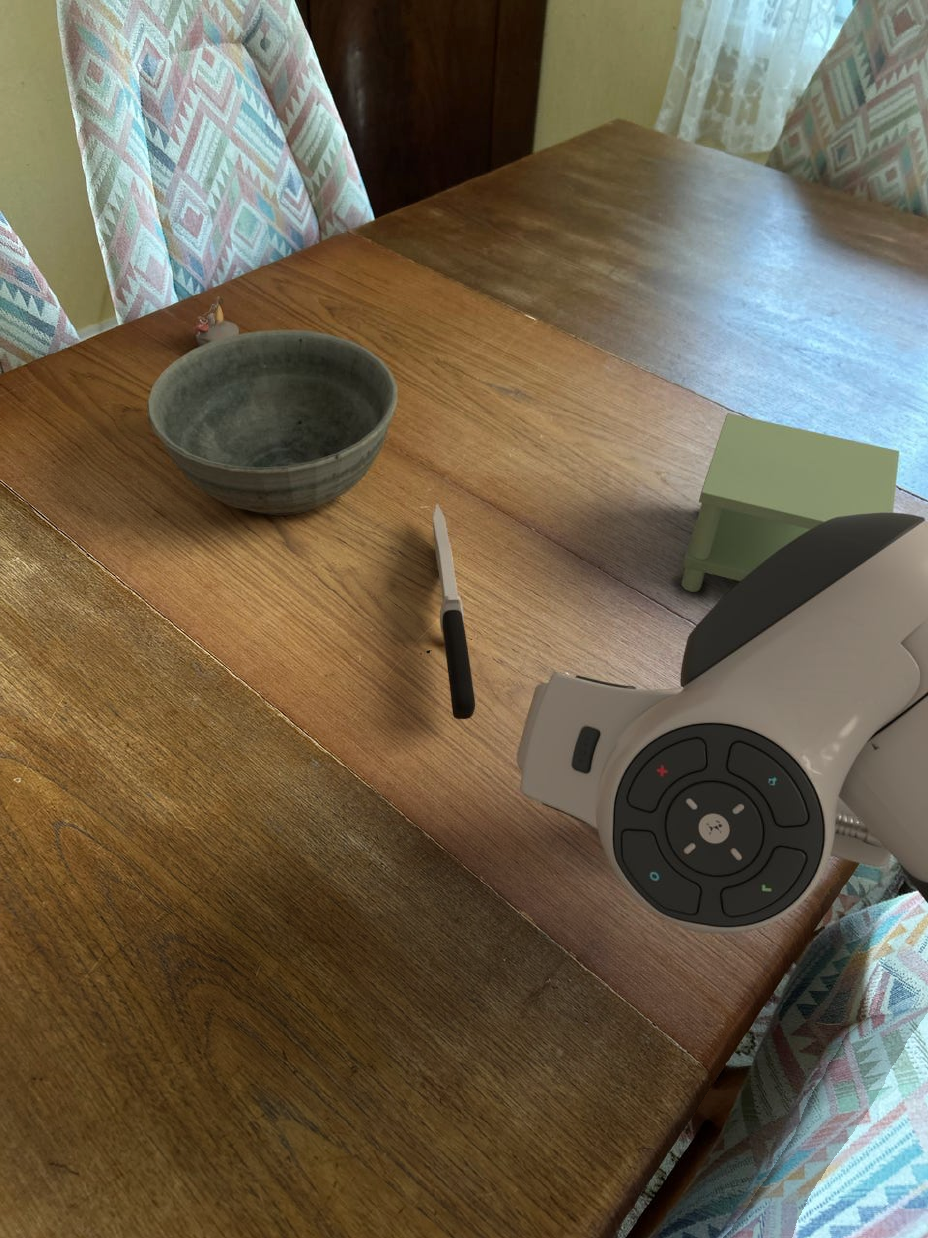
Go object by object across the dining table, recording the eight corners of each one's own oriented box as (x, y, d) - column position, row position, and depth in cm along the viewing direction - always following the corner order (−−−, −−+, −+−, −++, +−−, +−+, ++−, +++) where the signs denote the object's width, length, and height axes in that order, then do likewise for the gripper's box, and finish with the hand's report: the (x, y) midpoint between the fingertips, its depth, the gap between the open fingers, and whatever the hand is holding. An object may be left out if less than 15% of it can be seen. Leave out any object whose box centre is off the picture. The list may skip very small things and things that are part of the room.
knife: (425, 524, 92) (427, 477, 88) (446, 524, 92) (448, 477, 88) (450, 748, 74) (453, 700, 70) (475, 747, 74) (479, 699, 70)
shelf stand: (861, 546, 92) (899, 450, 85) (850, 635, 84) (890, 537, 77) (703, 507, 95) (727, 412, 88) (676, 589, 87) (701, 491, 80)
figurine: (242, 360, 110) (236, 306, 106) (199, 363, 109) (191, 309, 105) (238, 335, 114) (232, 282, 110) (196, 338, 113) (189, 285, 109)
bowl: (443, 473, 97) (447, 377, 90) (293, 596, 84) (284, 495, 77) (273, 398, 105) (264, 304, 98) (112, 499, 92) (88, 400, 85)
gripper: (950, 785, 48) (892, 762, 62) (522, 662, 52) (556, 666, 66) (912, 918, 48) (863, 866, 62) (488, 784, 52) (528, 763, 66)
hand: (701, 762), depth 64 cm, fingers open, 8 cm apart
